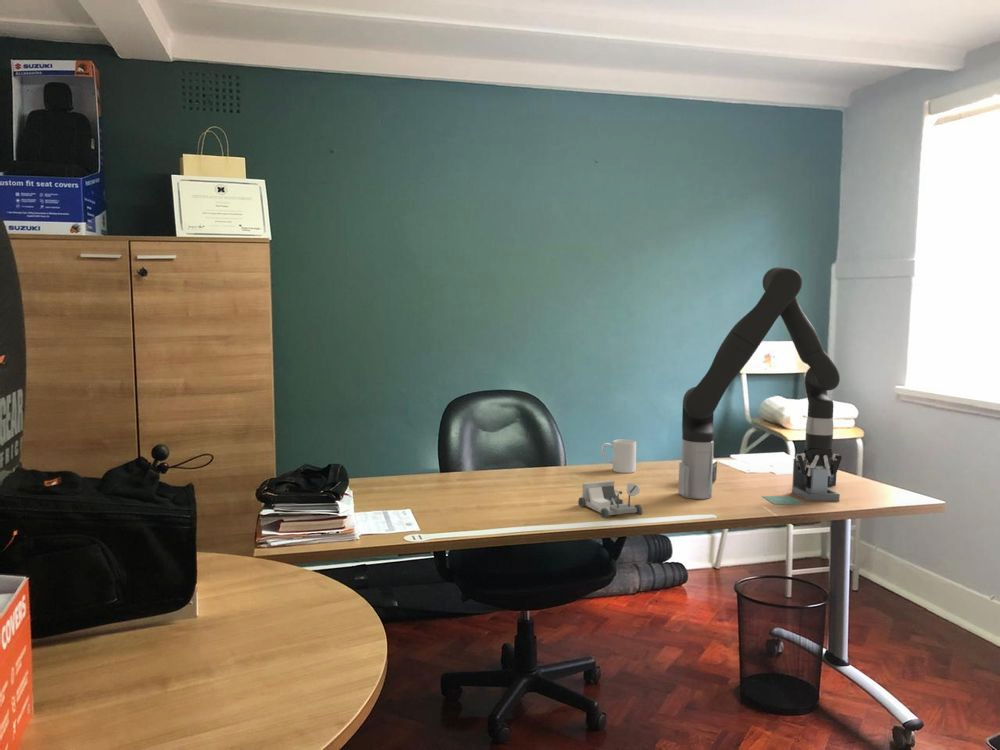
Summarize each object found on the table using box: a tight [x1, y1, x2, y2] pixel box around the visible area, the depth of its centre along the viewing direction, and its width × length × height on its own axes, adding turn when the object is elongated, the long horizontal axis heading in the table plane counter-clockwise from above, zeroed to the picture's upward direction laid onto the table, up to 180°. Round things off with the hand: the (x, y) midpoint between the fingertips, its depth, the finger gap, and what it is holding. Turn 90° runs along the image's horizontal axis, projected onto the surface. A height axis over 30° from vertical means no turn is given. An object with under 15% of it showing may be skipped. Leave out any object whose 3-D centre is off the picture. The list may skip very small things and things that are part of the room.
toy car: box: [577, 480, 643, 519], centre depth 207 cm, size 18×10×12 cm
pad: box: [761, 495, 805, 506], centre depth 220 cm, size 9×9×1 cm
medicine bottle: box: [712, 447, 718, 485], centre depth 244 cm, size 7×7×12 cm
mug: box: [601, 438, 637, 474], centre depth 258 cm, size 12×8×10 cm, turn 97°
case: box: [791, 458, 841, 502], centre depth 224 cm, size 11×11×11 cm
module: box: [805, 465, 828, 493], centre depth 224 cm, size 4×4×10 cm
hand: (816, 487), depth 224 cm, fingers closed on module, 4 cm apart
